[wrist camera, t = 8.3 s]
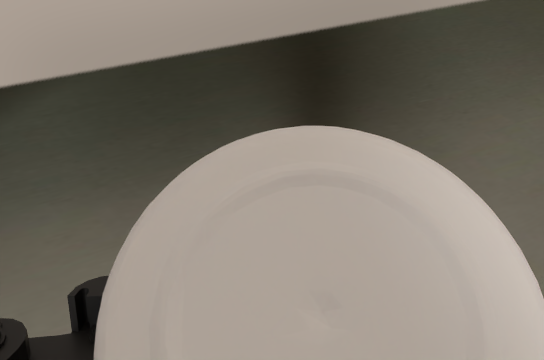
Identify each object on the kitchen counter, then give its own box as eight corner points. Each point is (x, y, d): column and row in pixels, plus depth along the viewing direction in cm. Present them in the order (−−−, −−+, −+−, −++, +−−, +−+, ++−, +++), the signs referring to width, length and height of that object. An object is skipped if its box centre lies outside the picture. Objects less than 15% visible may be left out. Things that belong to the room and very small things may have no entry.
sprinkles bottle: (359, 405, 15) (707, 631, 3) (242, 418, 15) (33, 713, 3) (339, 285, 17) (481, 90, 5) (235, 296, 17) (97, 129, 4)
